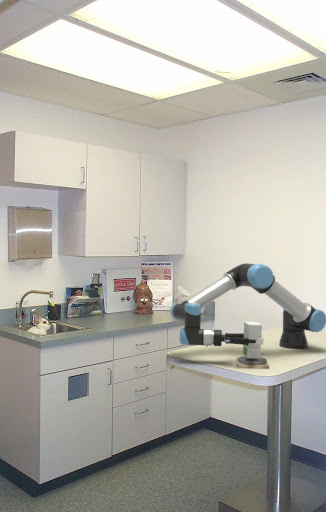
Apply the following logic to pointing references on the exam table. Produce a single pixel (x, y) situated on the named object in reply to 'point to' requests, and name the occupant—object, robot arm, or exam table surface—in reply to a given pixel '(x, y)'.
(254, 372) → the exam table surface
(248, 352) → the skincare box
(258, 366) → the rosette stand
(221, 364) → the exam table surface
